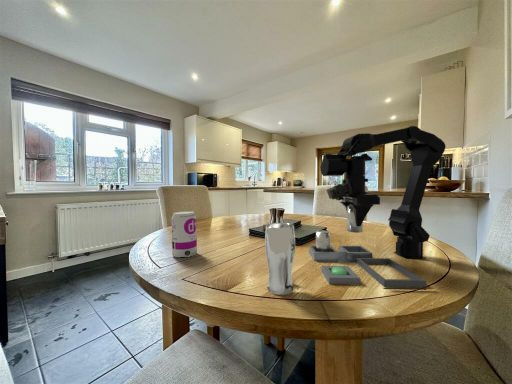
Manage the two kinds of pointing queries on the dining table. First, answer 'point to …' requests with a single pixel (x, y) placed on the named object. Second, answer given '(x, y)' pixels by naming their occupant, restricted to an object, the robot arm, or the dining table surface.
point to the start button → (339, 271)
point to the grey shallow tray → (340, 254)
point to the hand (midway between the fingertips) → (355, 224)
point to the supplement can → (184, 234)
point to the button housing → (340, 276)
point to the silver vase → (280, 257)
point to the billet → (352, 221)
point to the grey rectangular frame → (412, 282)
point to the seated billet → (322, 241)
